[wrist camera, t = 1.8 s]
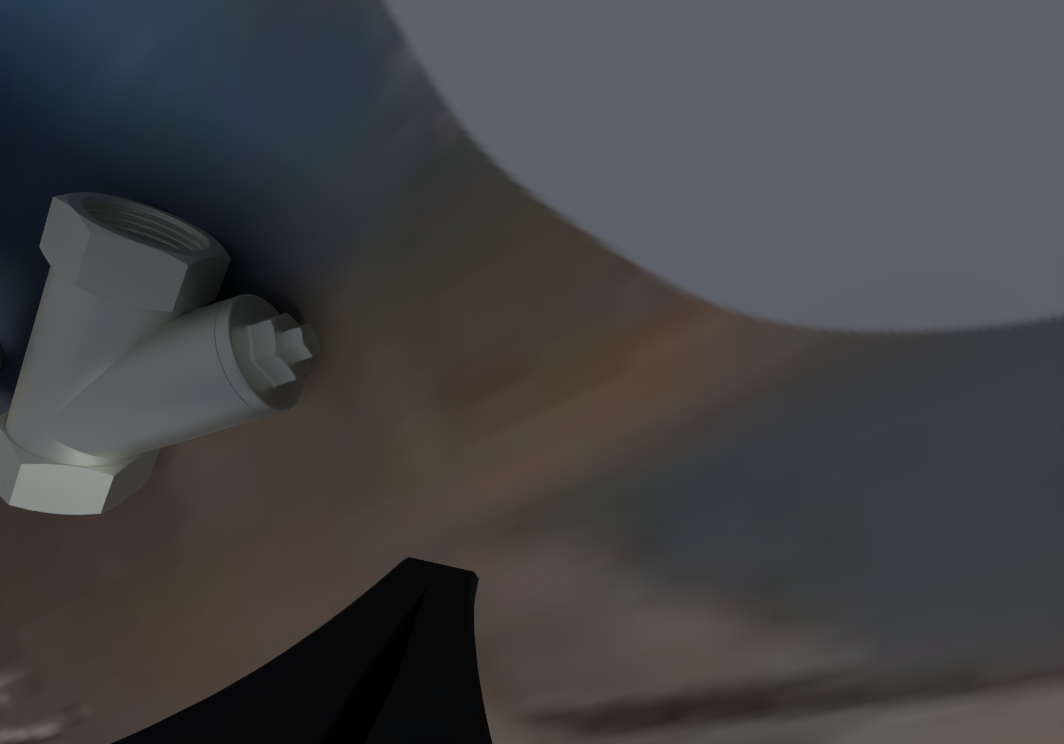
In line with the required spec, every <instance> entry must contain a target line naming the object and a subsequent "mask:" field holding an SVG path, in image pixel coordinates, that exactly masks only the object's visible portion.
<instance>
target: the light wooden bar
mask: <svg viewBox="0 0 1064 744" xmlns="http://www.w3.org/2000/svg"><path fill="white" fill-rule="evenodd" d="M3 361H4V357H3V351H2V348H1V346H0V371H1V369H2V366H3Z"/></svg>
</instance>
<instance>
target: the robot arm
mask: <svg viewBox="0 0 1064 744" xmlns="http://www.w3.org/2000/svg"><path fill="white" fill-rule="evenodd" d="M478 580H479V578H478V577H477V575H476V574H475V573H474V572H473V571H468V570H464V569H459V568H455V567H451V566H446V565H442V564H437V563H433V562H428V561H424V560H419V559H415V558H410V557H408V558H407V559H405V560H403V561H402V562H401V563H399V564H398V565H397V566H396V567H395V568H394V569H393V570H391V571H390V572H389V573H388V574H387V575H386V576H384V577H383V578H382V579H381V580H380V581H379V582H377V583H376V584H375V585H374V586H373V587H371V588H370V589H369V590H368V591H367V592H365V593H364V594H363V595H362V596H360V597H359V598H358V599H357V600H355V601H354V602H353V603H352V604H350V605H349V606H348V607H346V608H345V609H344V610H342V611H341V612H340V613H339V614H337V615H336V616H335V617H333V618H332V619H331V620H329V621H328V622H327V623H325V624H324V625H323V626H321V627H320V628H318V629H317V630H316V631H314V632H313V633H311V634H310V635H308V636H307V637H305V638H304V639H303V640H301V641H300V642H298V643H297V644H295V645H294V646H292V647H291V648H289V649H288V650H287V651H285V652H284V653H282V654H281V655H279V656H278V657H276V658H274V659H273V660H271V661H270V662H268V663H266V664H265V665H263V666H262V667H260V668H258V669H257V670H255V671H254V672H252V673H250V674H249V675H247V676H245V677H243V678H242V679H240V680H238V681H236V682H235V683H233V684H231V685H230V686H228V687H226V688H224V689H223V690H221V691H219V692H217V693H215V694H213V695H212V696H210V697H208V698H206V699H204V700H202V701H200V702H198V703H196V704H194V705H192V706H190V707H188V708H186V709H184V710H182V711H180V712H178V713H176V714H174V715H172V716H170V717H168V718H166V719H164V720H162V721H160V722H158V723H156V724H154V725H152V726H150V727H148V728H146V729H143V730H141V731H139V732H137V733H135V734H132V735H130V736H128V737H125V738H123V739H121V740H119V741H116V742H114V743H112V744H492V740H491V736H490V732H489V728H488V723H487V718H486V714H485V709H484V703H483V698H482V692H481V686H480V680H479V673H478V666H477V656H476V646H475V635H474V602H475V597H476V591H477V586H478Z"/></svg>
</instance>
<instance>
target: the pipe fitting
mask: <svg viewBox="0 0 1064 744" xmlns="http://www.w3.org/2000/svg"><path fill="white" fill-rule="evenodd" d="M39 247H40V249H41V251H42V253H43V254H44V256H45V258H46V260H47V261H48V262H49V264H50V265H51V266H50V270H49V273H48V277H47V280H46V284H45V287H44V291H43V294H42V298H41V301H40V305H39V308H38V312H37V315H36V319H35V322H34V326H33V329H32V333H31V336H30V340H29V343H28V347H27V350H26V354H25V357H24V361H23V364H22V368H21V371H20V375H19V378H18V382H17V385H16V389H15V392H14V396H13V399H12V403H11V406H10V410H9V411H7V412H5V413H3V414H1V415H0V496H1V497H2V498H3V499H4V500H5V501H6V502H7V503H8V504H9V505H12V506H16V507H20V508H24V509H28V510H33V511H39V512H45V513H53V514H71V515H83V514H101V513H103V512H105V511H107V510H109V509H111V508H113V507H114V506H116V505H118V504H119V503H121V502H123V501H124V500H125V499H127V498H128V497H129V496H131V495H132V494H133V493H135V492H136V491H137V490H138V489H139V488H141V487H142V486H143V485H144V484H145V483H146V482H147V481H148V480H149V477H150V474H151V472H152V469H153V466H154V463H155V461H156V458H157V455H158V453H159V450H160V448H162V447H165V446H168V445H172V444H175V443H179V442H182V441H186V440H189V439H192V438H196V437H199V436H203V435H206V434H210V433H213V432H216V431H220V430H223V429H227V428H230V427H233V426H237V425H240V424H244V423H247V422H251V421H254V420H257V419H261V418H264V417H268V416H271V415H275V414H278V413H281V412H285V411H288V410H290V409H291V408H293V407H294V406H295V405H296V403H297V402H298V400H299V398H300V396H301V392H302V388H303V376H304V375H305V374H307V373H308V372H309V371H310V370H311V361H312V360H311V357H313V356H315V355H317V354H318V353H319V349H320V347H319V341H318V337H317V335H316V333H315V331H314V330H313V329H312V328H311V326H309V325H308V324H304V325H301V326H300V325H299V324H298V323H297V322H296V321H295V320H294V319H293V318H292V317H291V316H290V315H289V314H288V313H284V314H281V315H280V314H279V313H278V311H277V310H276V309H275V308H274V307H273V306H272V305H271V304H269V303H268V302H267V301H265V300H264V299H262V298H260V297H258V296H255V295H251V294H243V295H239V296H236V297H233V298H230V299H227V300H224V301H221V302H217V303H214V304H211V305H208V304H209V303H211V302H213V301H215V300H216V298H217V295H218V292H219V290H220V287H221V284H222V282H223V279H224V276H225V274H226V271H227V268H228V266H229V263H230V260H231V257H230V256H229V254H228V253H227V251H226V250H225V249H224V248H223V246H222V245H221V244H220V243H219V242H218V241H217V240H216V239H215V238H214V237H212V236H211V235H210V234H208V233H207V232H205V231H204V230H202V229H201V228H199V227H197V226H195V225H193V224H192V223H190V222H188V221H186V220H184V219H181V218H179V217H177V216H175V215H172V214H170V213H168V212H165V211H163V210H160V209H157V208H154V207H152V206H149V205H146V204H143V203H140V202H136V201H133V200H129V199H125V198H121V197H117V196H112V195H107V194H102V193H94V192H76V193H68V194H63V195H59V196H55V197H53V198H52V202H51V206H50V209H49V213H48V217H47V220H46V224H45V227H44V231H43V235H42V238H41V242H40V245H39ZM206 305H208V306H206ZM204 306H205V307H204ZM201 307H202V308H201Z"/></svg>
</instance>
